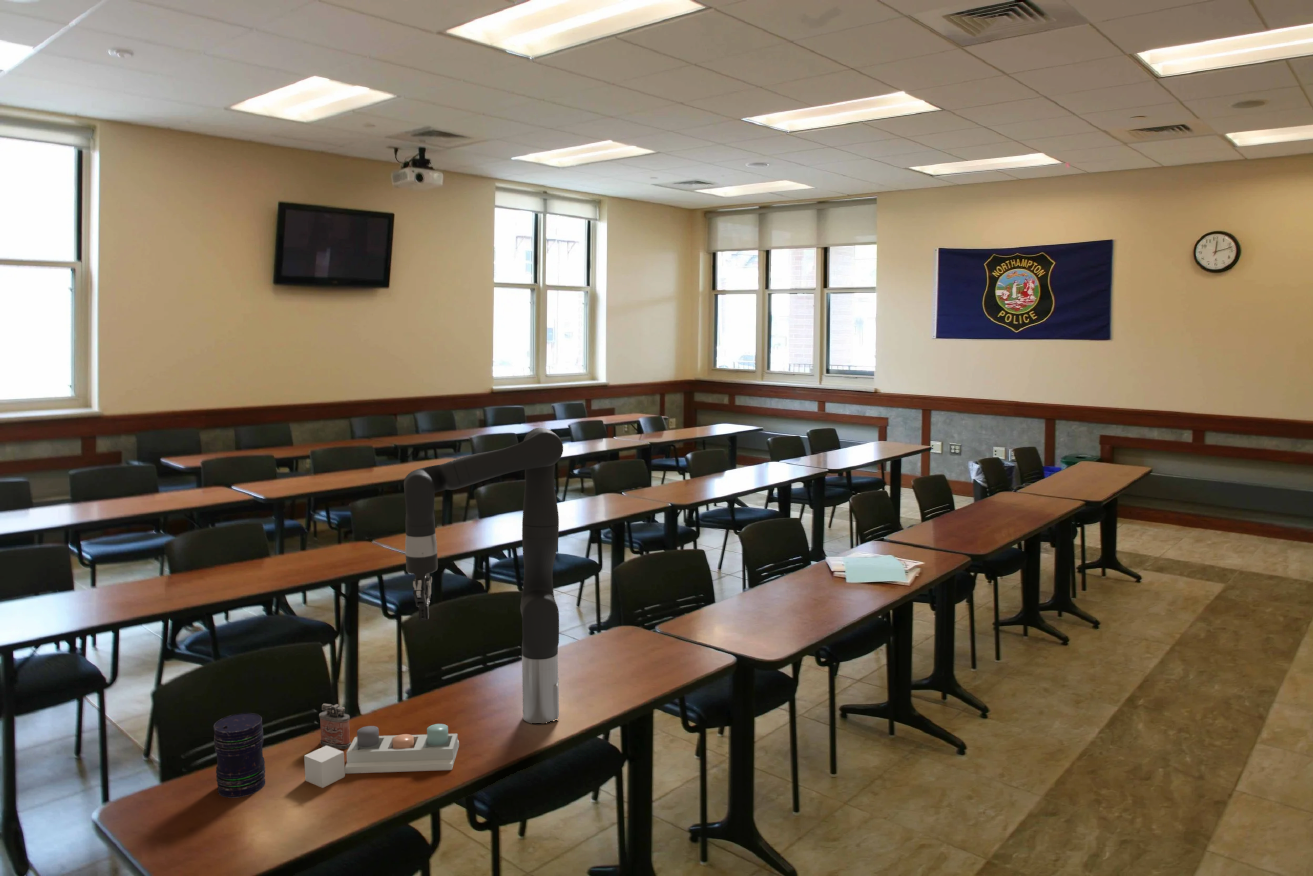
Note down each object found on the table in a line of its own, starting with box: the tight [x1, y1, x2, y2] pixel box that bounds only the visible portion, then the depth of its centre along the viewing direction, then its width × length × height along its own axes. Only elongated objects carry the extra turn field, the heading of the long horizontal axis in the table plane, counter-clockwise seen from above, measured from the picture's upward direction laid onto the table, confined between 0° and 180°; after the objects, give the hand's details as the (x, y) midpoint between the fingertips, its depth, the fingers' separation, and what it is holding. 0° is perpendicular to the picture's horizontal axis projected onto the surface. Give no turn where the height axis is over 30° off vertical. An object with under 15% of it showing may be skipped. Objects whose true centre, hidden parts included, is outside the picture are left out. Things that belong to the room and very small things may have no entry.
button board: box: [344, 733, 460, 775], centre depth 217 cm, size 24×12×4 cm, turn 94°
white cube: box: [303, 745, 346, 789], centre depth 208 cm, size 6×6×6 cm
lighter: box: [318, 703, 352, 750], centre depth 224 cm, size 8×3×10 cm, turn 71°
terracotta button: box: [392, 733, 414, 749], centre depth 216 cm, size 5×5×3 cm
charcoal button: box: [356, 725, 380, 747], centre depth 216 cm, size 5×5×3 cm
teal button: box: [426, 723, 449, 745], centre depth 217 cm, size 5×5×3 cm
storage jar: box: [213, 712, 266, 799], centre depth 203 cm, size 10×10×15 cm
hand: (424, 620), depth 228 cm, fingers closed
